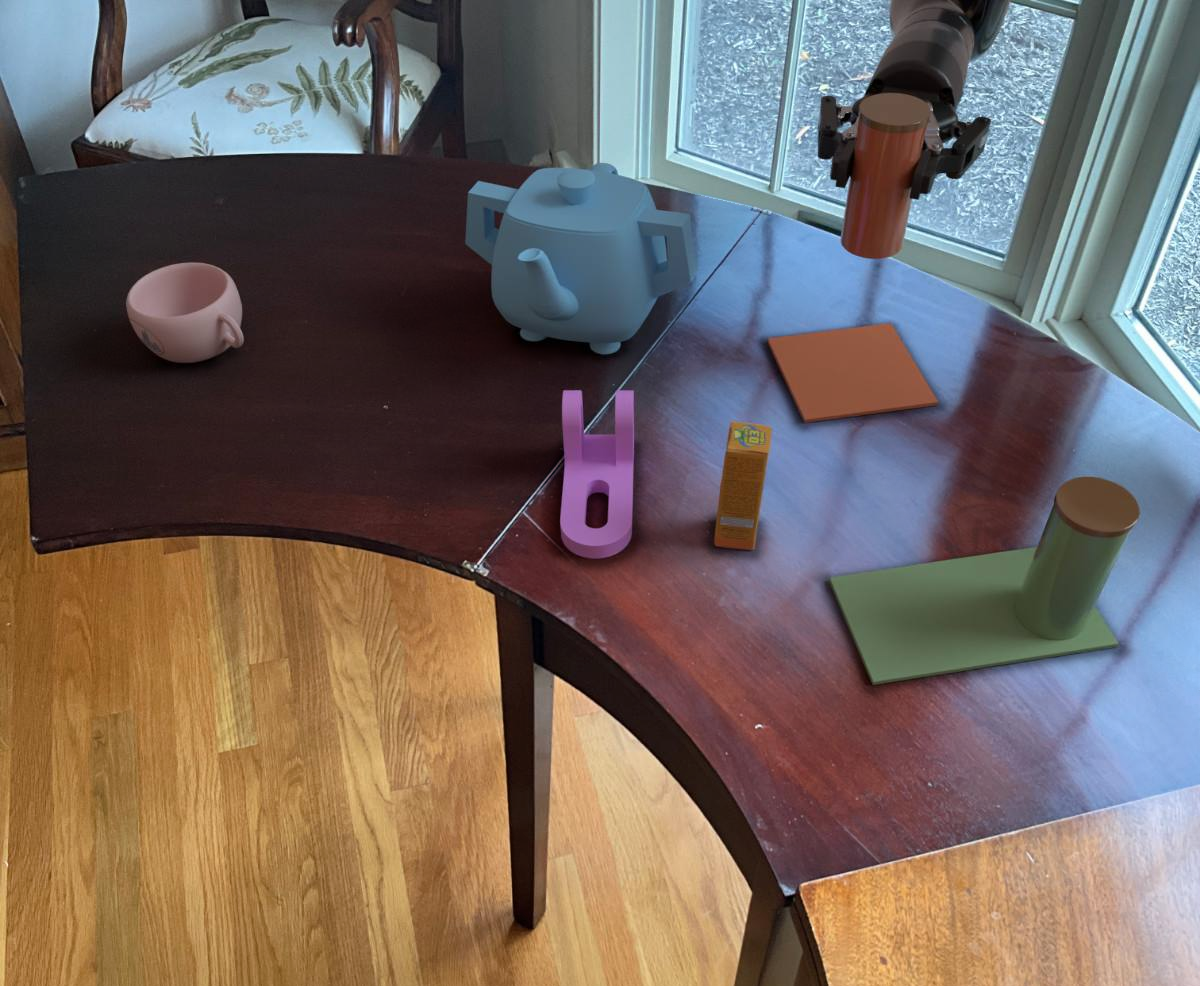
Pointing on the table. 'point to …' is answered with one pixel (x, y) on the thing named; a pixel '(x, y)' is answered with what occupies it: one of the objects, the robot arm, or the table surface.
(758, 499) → the supplement box
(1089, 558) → the sage canister
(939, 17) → the robot arm
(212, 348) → the mug
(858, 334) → the terracotta mat
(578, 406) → the bracket
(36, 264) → the table surface
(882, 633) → the sage mat
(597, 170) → the teapot
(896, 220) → the terracotta canister
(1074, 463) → the table surface
